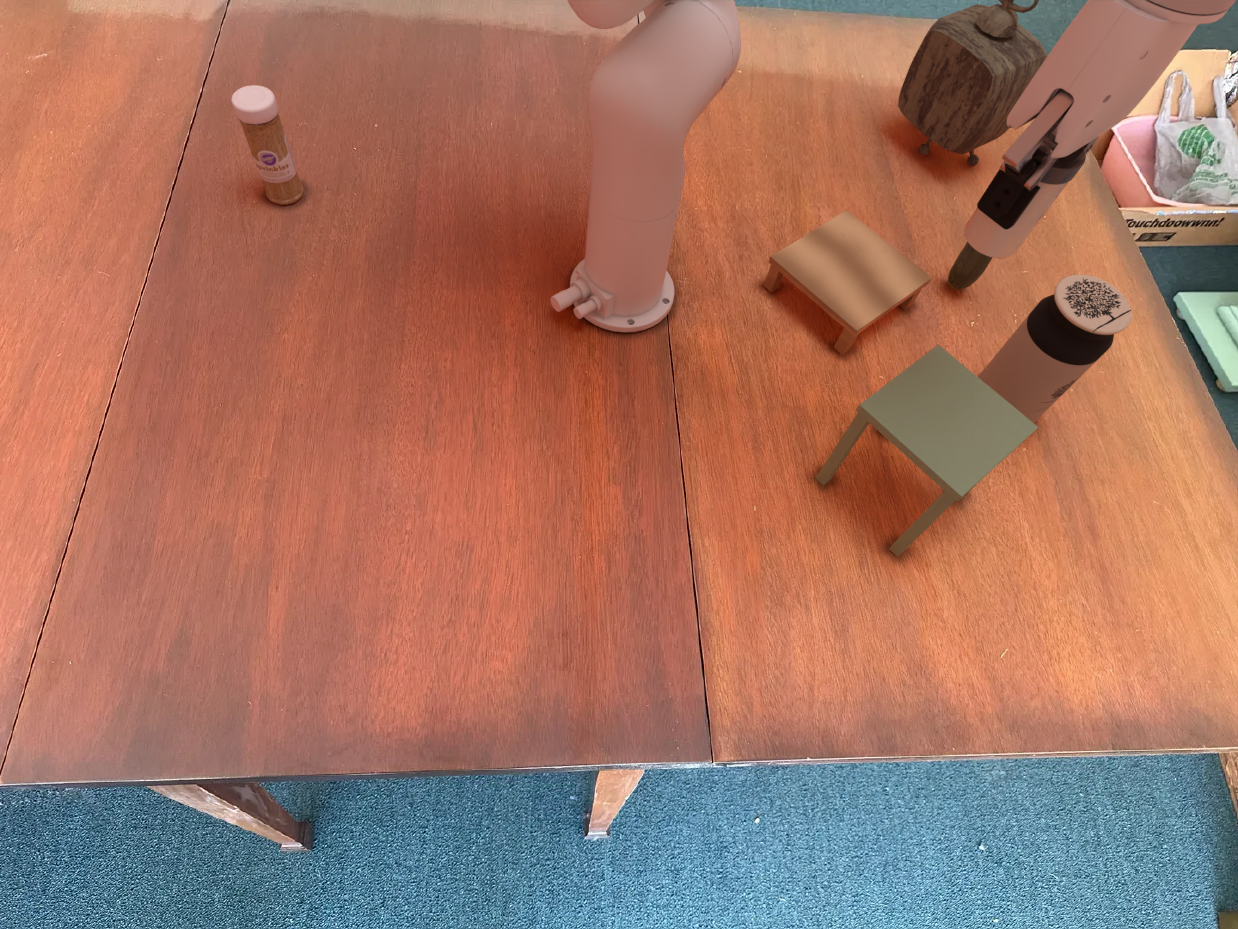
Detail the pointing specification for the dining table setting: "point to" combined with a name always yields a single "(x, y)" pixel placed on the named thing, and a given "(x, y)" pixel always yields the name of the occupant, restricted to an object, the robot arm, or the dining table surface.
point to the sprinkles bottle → (268, 143)
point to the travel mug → (1057, 343)
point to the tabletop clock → (970, 77)
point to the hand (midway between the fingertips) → (1015, 202)
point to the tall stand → (938, 430)
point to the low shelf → (848, 274)
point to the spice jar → (1007, 242)
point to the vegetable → (967, 267)
